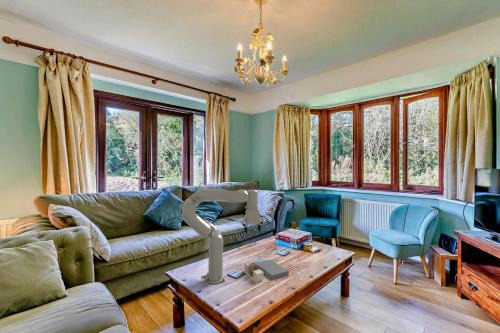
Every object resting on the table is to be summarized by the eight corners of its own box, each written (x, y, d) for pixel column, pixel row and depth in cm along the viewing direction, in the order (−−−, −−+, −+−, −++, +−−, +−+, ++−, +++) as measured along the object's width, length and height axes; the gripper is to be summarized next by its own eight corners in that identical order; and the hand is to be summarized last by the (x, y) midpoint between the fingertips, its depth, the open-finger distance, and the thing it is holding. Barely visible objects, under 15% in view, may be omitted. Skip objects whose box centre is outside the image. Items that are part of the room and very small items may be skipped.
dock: (272, 281, 153) (272, 275, 153) (255, 268, 172) (255, 262, 172) (288, 276, 160) (288, 270, 160) (270, 264, 179) (270, 259, 179)
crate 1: (247, 273, 161) (247, 266, 161) (244, 270, 165) (244, 263, 165) (254, 271, 163) (254, 264, 163) (250, 269, 168) (250, 262, 168)
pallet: (256, 286, 148) (256, 271, 148) (241, 273, 165) (242, 260, 165) (266, 283, 152) (266, 268, 152) (251, 270, 169) (251, 257, 169)
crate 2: (257, 281, 150) (257, 274, 150) (253, 278, 154) (253, 270, 154) (263, 279, 152) (263, 272, 152) (259, 276, 157) (259, 269, 156)
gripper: (242, 209, 154) (242, 234, 154) (265, 207, 160) (266, 231, 160) (238, 207, 161) (239, 231, 161) (261, 205, 167) (261, 228, 167)
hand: (252, 231), depth 161 cm, fingers open, 9 cm apart
